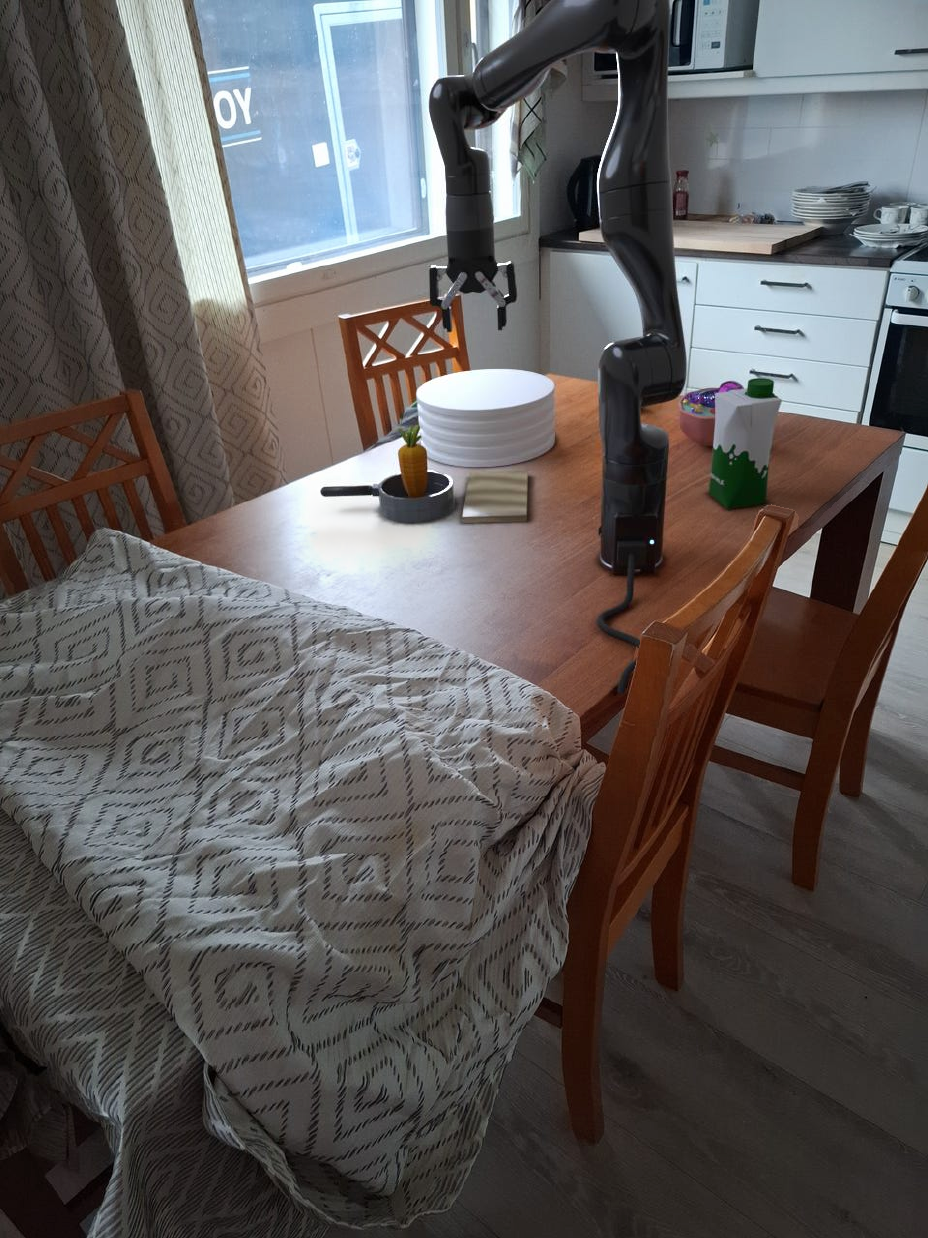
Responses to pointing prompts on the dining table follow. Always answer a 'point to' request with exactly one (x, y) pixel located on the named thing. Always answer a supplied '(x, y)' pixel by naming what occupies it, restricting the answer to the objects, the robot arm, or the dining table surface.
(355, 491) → the pan handle
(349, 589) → the dining table surface
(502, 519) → the board
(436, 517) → the pan
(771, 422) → the milk carton
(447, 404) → the plate stack
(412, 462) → the carrot
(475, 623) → the dining table surface
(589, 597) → the dining table surface
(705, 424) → the cell model
